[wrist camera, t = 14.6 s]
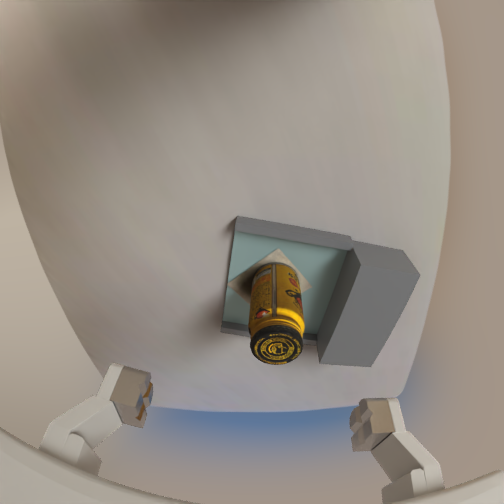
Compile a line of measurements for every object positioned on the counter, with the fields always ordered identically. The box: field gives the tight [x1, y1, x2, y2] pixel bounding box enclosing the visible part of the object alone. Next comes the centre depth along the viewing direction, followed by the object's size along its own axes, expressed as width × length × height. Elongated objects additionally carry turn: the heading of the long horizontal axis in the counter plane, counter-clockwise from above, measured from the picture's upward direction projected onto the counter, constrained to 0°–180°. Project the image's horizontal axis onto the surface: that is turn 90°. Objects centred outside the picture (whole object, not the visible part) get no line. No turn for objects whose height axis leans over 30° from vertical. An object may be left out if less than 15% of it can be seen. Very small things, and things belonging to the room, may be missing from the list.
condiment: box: [227, 248, 312, 365], centre depth 34 cm, size 7×8×12 cm
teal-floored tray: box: [221, 216, 420, 367], centre depth 38 cm, size 17×22×6 cm
